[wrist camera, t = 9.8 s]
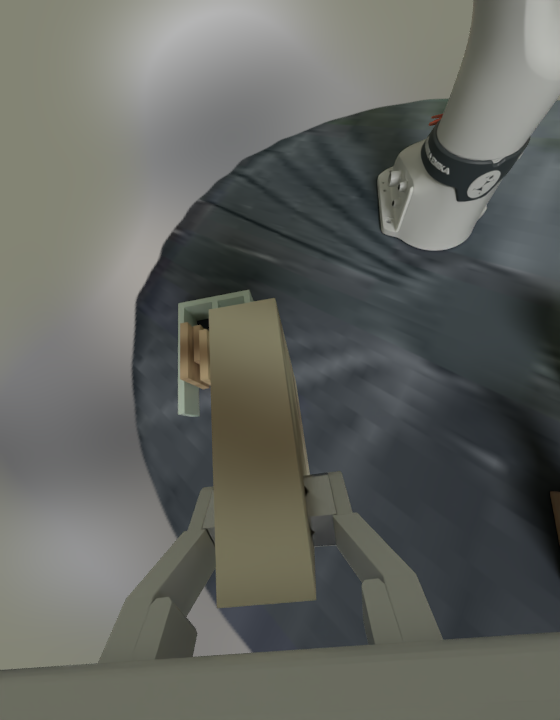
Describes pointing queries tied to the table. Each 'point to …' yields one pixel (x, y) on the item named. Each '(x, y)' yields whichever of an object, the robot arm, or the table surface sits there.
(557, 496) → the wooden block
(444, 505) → the table surface
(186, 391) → the rack
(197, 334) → the offcut stack
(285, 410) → the beige brown rectangular slab
